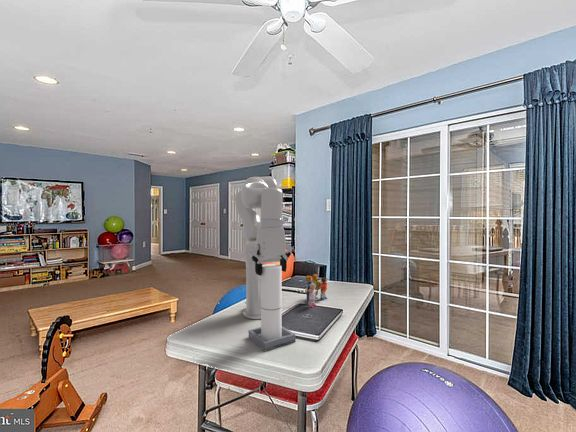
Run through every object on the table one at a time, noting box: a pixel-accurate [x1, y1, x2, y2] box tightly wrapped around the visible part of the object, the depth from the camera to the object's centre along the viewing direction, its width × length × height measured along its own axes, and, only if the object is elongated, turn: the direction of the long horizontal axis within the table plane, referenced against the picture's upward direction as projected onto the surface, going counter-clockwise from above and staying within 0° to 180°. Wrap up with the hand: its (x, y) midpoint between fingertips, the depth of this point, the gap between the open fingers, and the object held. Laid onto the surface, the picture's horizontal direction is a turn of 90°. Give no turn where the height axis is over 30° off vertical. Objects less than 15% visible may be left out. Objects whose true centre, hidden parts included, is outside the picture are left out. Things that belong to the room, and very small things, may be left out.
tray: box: [248, 325, 296, 352], centre depth 104 cm, size 12×12×2 cm
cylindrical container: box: [260, 263, 283, 341], centre depth 104 cm, size 7×7×25 cm
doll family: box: [304, 273, 328, 309], centre depth 144 cm, size 21×10×13 cm, turn 151°
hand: (271, 272), depth 104 cm, fingers open, 9 cm apart
